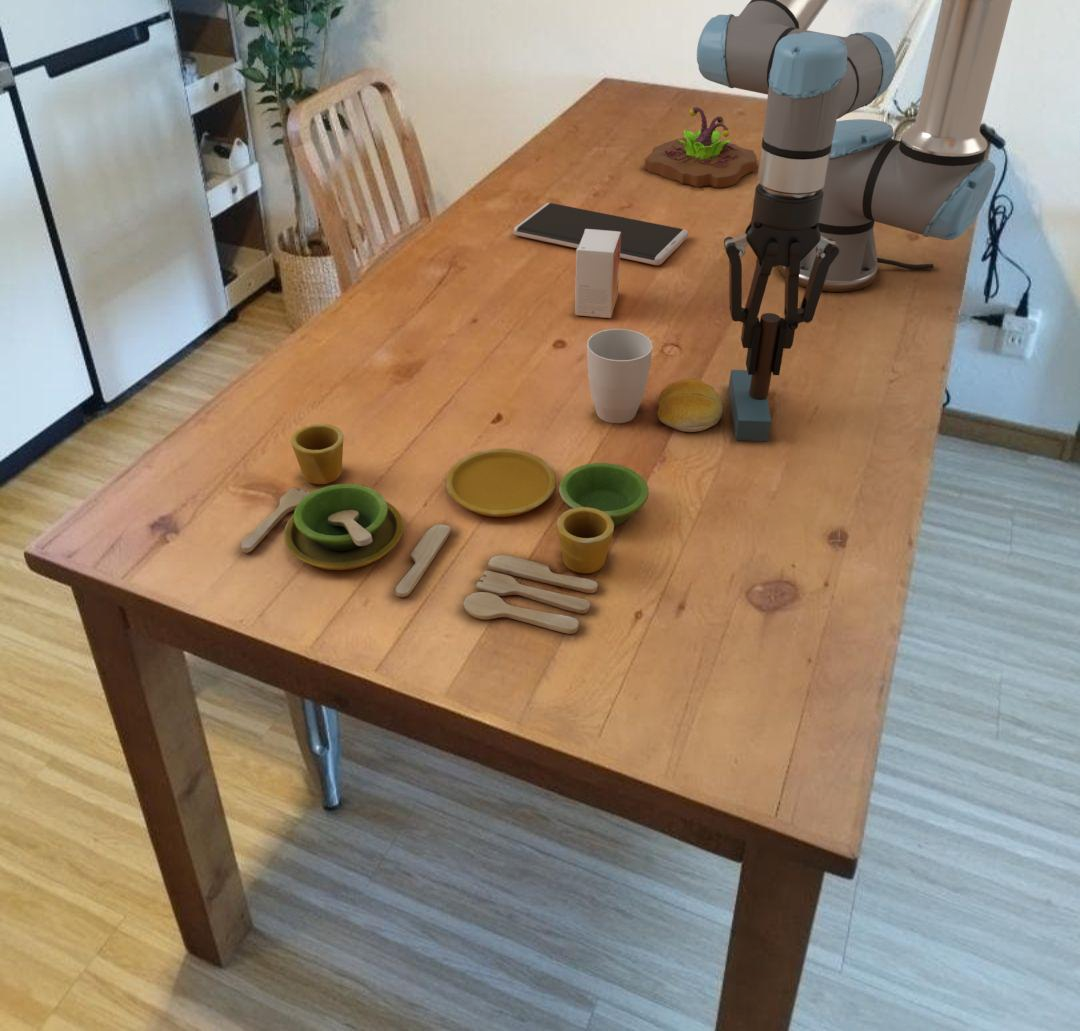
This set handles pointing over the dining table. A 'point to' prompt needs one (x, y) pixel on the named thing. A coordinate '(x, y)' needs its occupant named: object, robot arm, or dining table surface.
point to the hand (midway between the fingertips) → (762, 369)
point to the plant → (702, 157)
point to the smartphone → (571, 222)
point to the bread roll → (689, 405)
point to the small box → (597, 273)
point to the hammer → (755, 387)
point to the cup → (618, 372)
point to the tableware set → (478, 485)
